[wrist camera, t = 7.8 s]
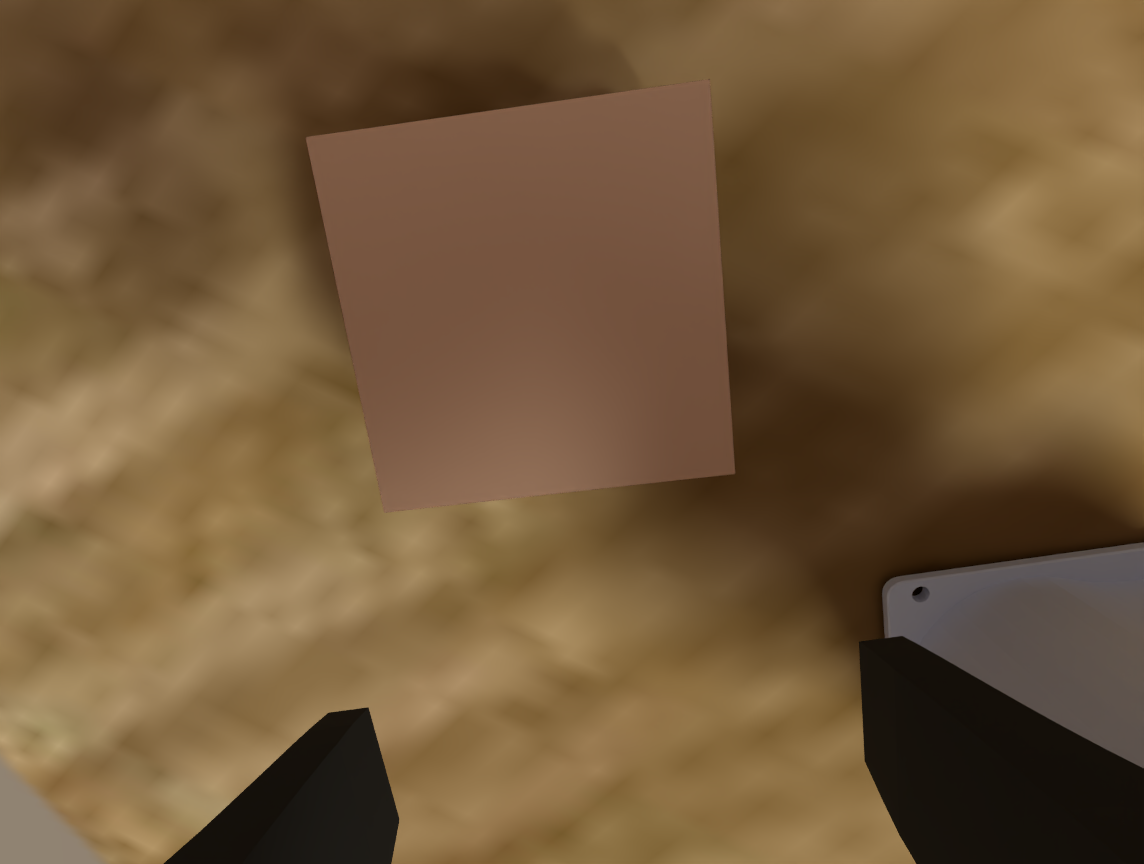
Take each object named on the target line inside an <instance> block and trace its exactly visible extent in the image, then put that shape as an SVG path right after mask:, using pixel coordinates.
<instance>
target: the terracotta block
mask: <svg viewBox="0 0 1144 864" xmlns="http://www.w3.org/2000/svg"><path fill="white" fill-rule="evenodd" d="M306 142H307V146H308V151H309V156H310V161H311V166H312V170H313V175H314V180H315V185H316V189H317V194H318V199H319V204H320V208H321V213H322V218H323V223H324V228H325V232H326V237H327V242H328V247H329V251H330V256H331V261H332V266H333V270H334V275H335V280H336V285H337V289H338V294H339V299H340V304H341V309H342V313H343V318H344V323H345V328H346V332H347V337H348V342H349V347H350V351H351V356H352V361H353V366H354V371H355V375H356V380H357V385H358V390H359V394H360V399H361V404H362V409H363V413H364V418H365V423H366V428H367V433H368V437H369V442H370V447H371V452H372V456H373V461H374V466H375V471H376V475H377V480H378V485H379V490H380V495H381V499H382V504H383V509H384V513H385V512H394V511H403V510H412V509H421V508H430V507H439V506H449V505H458V504H467V503H476V502H485V501H494V500H503V499H512V498H521V497H530V496H539V495H548V494H557V493H567V492H576V491H585V490H594V489H603V488H612V487H621V486H630V485H639V484H648V483H657V482H666V481H675V480H684V479H694V478H703V477H712V476H721V475H730V474H735V462H734V446H733V431H732V415H731V400H730V384H729V369H728V353H727V338H726V322H725V307H724V291H723V276H722V260H721V245H720V229H719V214H718V198H717V183H716V167H715V152H714V136H713V121H712V105H711V90H710V79H708V80H701V81H694V82H687V83H680V84H673V85H666V86H659V87H652V88H645V89H638V90H631V91H624V92H617V93H610V94H603V95H596V96H589V97H582V98H575V99H568V100H561V101H554V102H547V103H540V104H533V105H526V106H519V107H512V108H505V109H498V110H491V111H484V112H477V113H470V114H463V115H456V116H449V117H442V118H435V119H428V120H421V121H414V122H407V123H401V124H394V125H387V126H380V127H373V128H366V129H359V130H352V131H345V132H338V133H331V134H324V135H317V136H310V137H306Z"/></svg>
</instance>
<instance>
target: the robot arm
mask: <svg viewBox="0 0 1144 864" xmlns="http://www.w3.org/2000/svg"><path fill="white" fill-rule="evenodd" d="M920 586H922V587H923V589H922V592H921V593H920V594H918V595H916V596H912V593H913V591H914V590H915V589H916V588H918V587H920ZM882 600H883V617H884V633H885V638H883V639H876V640H868V641H861V642H859V650H860V671H861V692H862V713H863V734H864V754H865V762H866V765H867V767H868V769H869V771H870V773H871V775H872V778H873V780H874V782H875V784H876V786H877V789H878V791H879V793H880V795H881V797H882V800H883V802H884V804H885V806H886V808H887V810H888V812H889V814H890V816H891V818H892V820H893V822H894V825H895V827H896V829H897V831H898V833H899V835H900V837H901V838H902V840H903V842H904V843H905V845H906V847H907V849H908V850H909V852H910V854H911V855H912V857H913V859H914V860H915V862H916V864H1144V542H1142V543H1135V544H1128V545H1121V546H1114V547H1106V548H1099V549H1092V550H1085V551H1078V552H1070V553H1063V554H1056V555H1049V556H1042V557H1034V558H1027V559H1020V560H1013V561H1006V562H998V563H991V564H984V565H977V566H970V567H962V568H955V569H948V570H941V571H934V572H926V573H919V574H912V575H905V576H898V577H895V578H891V579H890V580H889V581H887V582H886V584H885V585H884V587H883V591H882ZM398 824H399V816H398V813H397V809H396V806H395V802H394V798H393V795H392V791H391V787H390V784H389V780H388V777H387V773H386V769H385V766H384V762H383V759H382V755H381V751H380V748H379V744H378V741H377V737H376V733H375V730H374V726H373V723H372V719H371V715H370V712H369V708H361V709H354V710H346V711H339V712H331V713H328V714H327V715H325V716H324V717H323V718H322V719H321V720H319V721H318V722H317V723H316V724H315V725H314V726H312V727H311V728H310V729H309V730H308V731H307V732H306V733H305V734H304V735H303V736H301V737H300V738H299V739H298V740H297V741H296V742H295V743H294V744H293V745H292V746H291V747H290V748H289V749H287V750H286V751H285V752H284V753H283V754H282V755H281V756H280V757H279V758H278V759H277V760H276V761H275V762H274V763H273V764H272V765H271V766H270V767H268V768H267V769H266V770H265V771H264V772H263V773H262V774H261V775H260V776H259V777H258V778H257V779H256V780H255V781H254V782H253V783H252V784H250V785H249V786H248V787H247V788H246V789H245V790H244V791H243V792H242V793H241V794H240V795H239V796H238V797H237V798H235V799H234V800H233V801H232V802H231V803H230V804H229V805H228V806H227V807H226V808H225V809H224V810H223V811H222V812H221V813H219V814H218V815H217V816H216V817H215V818H214V819H213V820H212V821H211V822H210V823H209V824H208V825H207V826H206V827H204V828H203V829H202V830H201V831H200V832H199V833H198V834H197V835H196V836H194V837H193V838H192V839H191V840H190V841H189V842H188V843H187V844H185V845H184V846H183V847H182V848H181V849H180V850H179V851H177V852H176V853H175V854H174V855H173V856H172V857H171V858H169V859H168V860H167V861H166V862H165V863H164V864H391V862H392V857H393V851H394V846H395V840H396V835H397V830H398Z"/></svg>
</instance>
